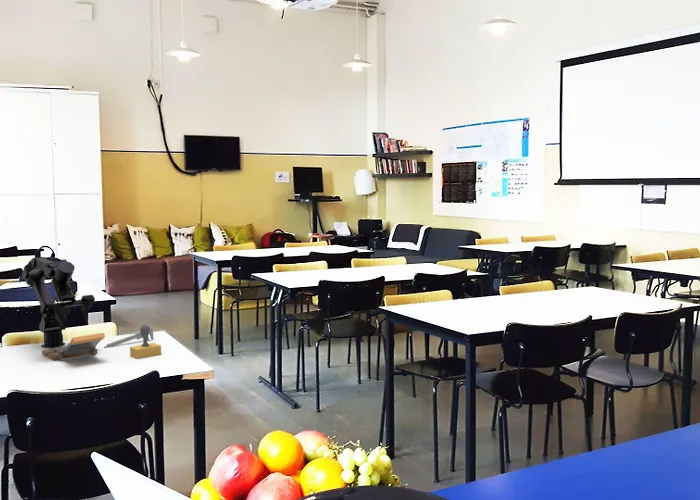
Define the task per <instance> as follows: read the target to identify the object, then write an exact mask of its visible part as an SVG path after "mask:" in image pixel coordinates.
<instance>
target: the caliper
mask: <svg viewBox="0 0 700 500" xmlns="http://www.w3.org/2000/svg"><path fill="white" fill-rule="evenodd" d="M148 326H149V328H150V332H149V336H150V337H149V336H148V338H147V342H149V341H150V339H151V340H152V341H153V340H154V332H153V331H154V330H153V327H151V326H150V325H148ZM141 339H143V337H142V335H141V332H140V331H138V332H136V333H134V334H132V335H129V336H125V337H124V338H120V339H117V340H115V341H112V342H110V343H109V342H108V343H106V345H104V346H103V348H105V349H106V348H113V347H116V346H119V345H121V344H124V343H127V342H129V341H132V340H141Z"/></svg>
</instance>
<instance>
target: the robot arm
mask: <svg viewBox="0 0 700 500" xmlns="http://www.w3.org/2000/svg"><path fill="white" fill-rule="evenodd" d="M74 271H75V265H74V264H73V263H72V262H70V261H67V259H65V258H64V259H60V261H52V260H50V259H47V258H46V257H44V256H39V257H36V256H35V257H33V258H31V260H30V261H29V262H28V263H27V264H26V265H24V266H23V270H22V279H23V280H24V281H25V284H26V285H28V286H29V287H31V288H33V291H34V294H35V296H36V299H37V300H38V303H39V305H40V313H41V315H42V317H41V320H40V322H39V325H38V327H39V331H40V332H41V333H43V342H44V344H42V345H41V347H43V348H51V349H52V348H57V347H62V346H65V345H66V343H65V342H64V334H63V331H65V330H66V328H67V321H68V318H67V316H69V315H70V314H71V309H72V308H71V307H77V306H79V307H80V312H82V314H83V317H84V320H85V322H88V320H89V312H90V309H91V308H93V305H94V303H95V301H96V298H95V295H93V294H87V295H82V296H81V298H80V299H76V295H75V294H74V293H73V291H72V290H73V286H71V284H70V283H69V281H70V280H71V279H72V276H73V274H74ZM46 277H47V278H52V279H51V287H52V288H53V290H54V292H55V296H54V297H55V299H54V298H52V296H51V294H50V291H49V289H48V287H47V284H46V283H45V281H46Z"/></svg>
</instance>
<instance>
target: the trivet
mask: <svg viewBox="0 0 700 500" xmlns="http://www.w3.org/2000/svg"><path fill="white" fill-rule="evenodd" d="M96 346H97V345H96ZM96 346H95V348H94V349H93V350H92V351H86V352H80V353H74V354H68V355H63V356H62V351H63V350H64V349H65V348H66V347H67V345H62V346H58V347H55V348H52V347H51V348H49V349H42V350H41V355H43V356H44V357H46V358H49V359H50V360H52V361H54V362H55V361H59V362H63V361H64V360H66V359H67V360H68V359H73V358H78V357H84V356H91V355H92V356H96V355H97V354H98V349H97V348H96Z"/></svg>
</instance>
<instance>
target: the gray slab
mask: <svg viewBox="0 0 700 500" xmlns="http://www.w3.org/2000/svg"><path fill="white" fill-rule="evenodd" d="M105 337H106V336H105V332H99V333H94V334H87V335H80V336H75V337H74V336H73V337H72V338H71V339H70V342H68V344H66V346H67V347H66V348H65V349H64V350H63V351H62V356H63V355H68V354H74V353H80V352H86V351H92V350H93V349H94V348H95V346H97V345H98V344H99V343H100V342H101V341H103V340H104V338H105Z"/></svg>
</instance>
